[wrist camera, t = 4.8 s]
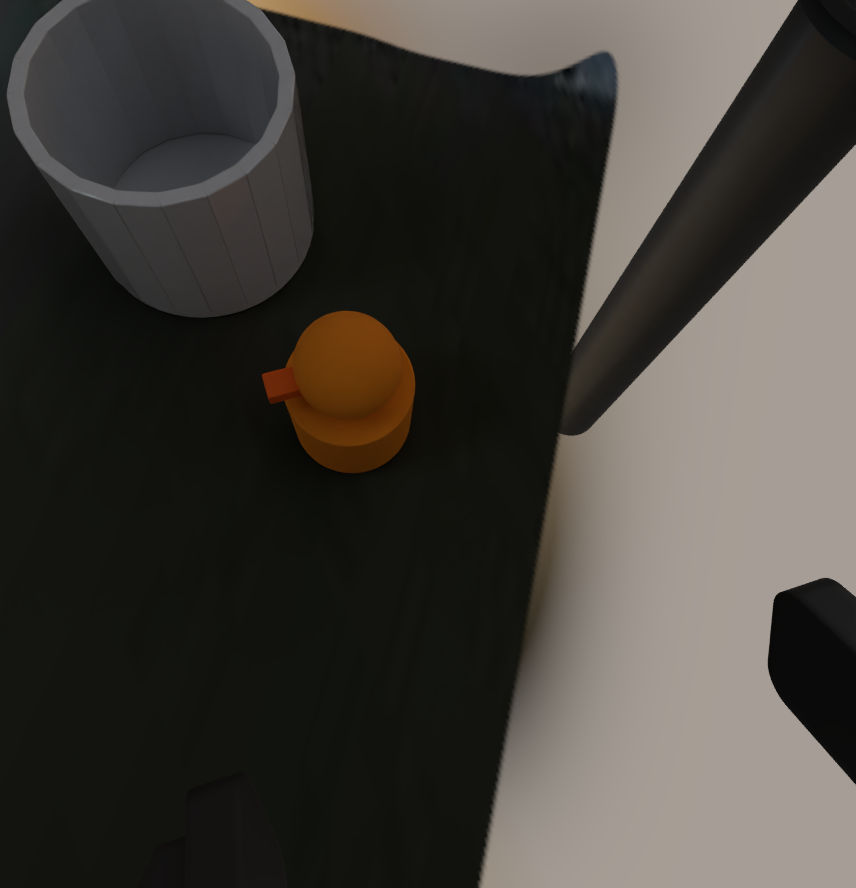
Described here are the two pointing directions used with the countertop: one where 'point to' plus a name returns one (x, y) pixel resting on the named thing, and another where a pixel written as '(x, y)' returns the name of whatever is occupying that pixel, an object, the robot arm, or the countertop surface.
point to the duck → (347, 392)
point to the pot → (171, 145)
